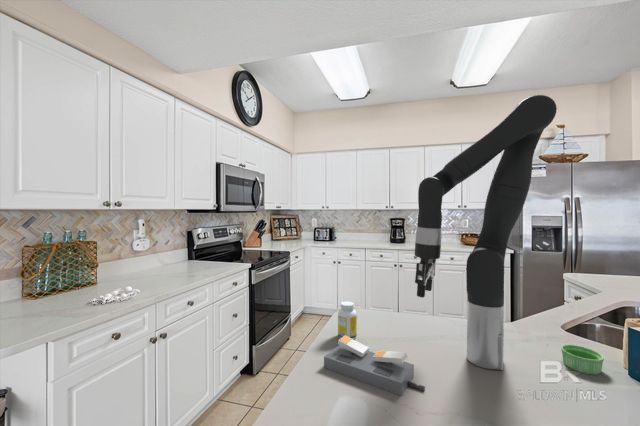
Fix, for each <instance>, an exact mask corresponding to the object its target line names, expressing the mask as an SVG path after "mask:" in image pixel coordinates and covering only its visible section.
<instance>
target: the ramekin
mask: <svg viewBox="0 0 640 426" xmlns="http://www.w3.org/2000/svg"><path fill="white" fill-rule="evenodd" d="M560 349H561V350H560V351H561V353H562V362H563V364H564V365H565V366H566V365H567V367H568V368H569V367H570V369H571V370H573V369H574V370H573V371H576V372H579V373H582V374H586V375H595V376H596V375H600V374H601V373H602V370H603V362H604V360H605V357H604V355H603V354H602V353H600V352H598V351H596V350H594V349H592V348H588V347H585V346H581V345H577V344H576V345H575V344H562V345H561V347H560Z"/></svg>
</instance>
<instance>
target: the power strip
mask: <svg viewBox="0 0 640 426" xmlns="http://www.w3.org/2000/svg"><path fill="white" fill-rule="evenodd" d="M376 353H377V352H373V351H370V350H368V352H367V353H366V354H365V355H364V356H363V357H361V356H359V355H357V354H355V353H353V352H351V351H350V350H348V349H346V348H344V347H342V346H340V345H339V344H338V345H337V346H336V347H334V348H333V349H332V350H331V351H329V352H328V353H327V354H325V355H324V356H323V368H325V369H328V370H330V371H332V372H336V373H338V374H341V375H344V376H346V377H349V378H352V379H355V380H357V381H360V382H363V383H365V384H369V385H372V386H373V387H377V388H379V389H382V390H385V391H387V392H390V393H393V394H396V395H399V396H401V397H403V395H404V393H405V391H406V389H407V387H411V388H414V389H417V390H421V391H424V392H425V390H426V386H424V385H422V384H418V383H415V382H412V379H413V377H414V376H415V365H414V363H409V362H407V361H404V362H403V364H402V363H390V362H379V361H374V360H373V356H374V355H375V354H376Z"/></svg>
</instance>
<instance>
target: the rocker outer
mask: <svg viewBox="0 0 640 426" xmlns="http://www.w3.org/2000/svg"><path fill="white" fill-rule="evenodd" d="M337 345H338V346H339V345H340V346H342V347H344V348H346V349H348V350H350V351H351V352H353V353H355V354H357V355H359V356H361V357H363V356H364V355H365V354H366V353H367V352H368V351H370V348H369V346H367V345H366V344H362V343H361V342H359V341H357V340H355V339H351V338H349V337H347V336H346V335H345V336H343V337H342V338H339V339H338V342H337Z"/></svg>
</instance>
